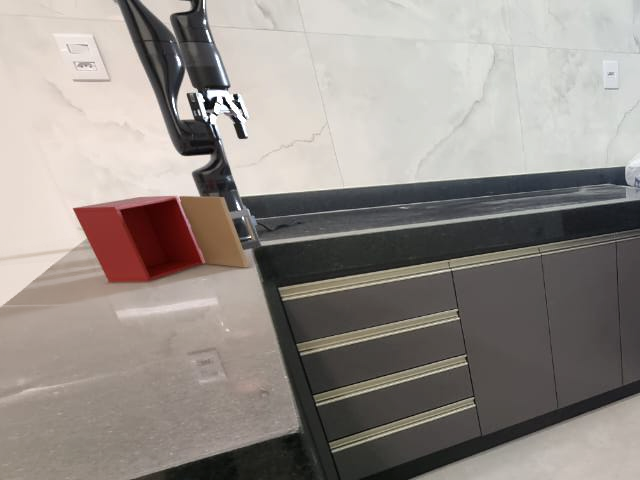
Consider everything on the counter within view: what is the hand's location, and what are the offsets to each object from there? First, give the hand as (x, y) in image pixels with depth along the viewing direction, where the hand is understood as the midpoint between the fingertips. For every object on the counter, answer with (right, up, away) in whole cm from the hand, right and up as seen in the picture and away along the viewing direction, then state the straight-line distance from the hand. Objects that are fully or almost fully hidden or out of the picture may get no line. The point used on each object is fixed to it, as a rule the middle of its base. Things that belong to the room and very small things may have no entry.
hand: (230, 139), depth 132 cm
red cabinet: (-13, -34, -5) cm, 37 cm away
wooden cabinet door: (+1, -30, +1) cm, 30 cm away
